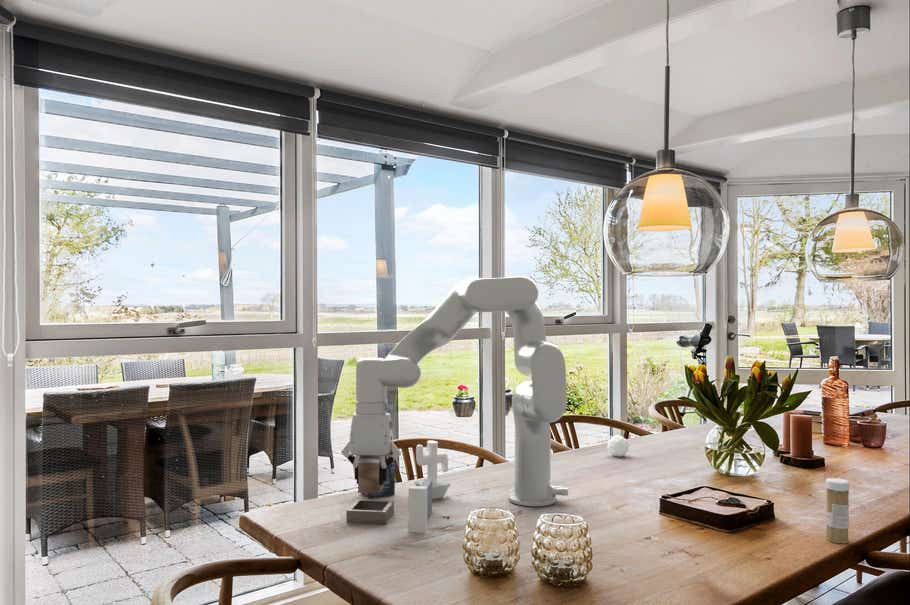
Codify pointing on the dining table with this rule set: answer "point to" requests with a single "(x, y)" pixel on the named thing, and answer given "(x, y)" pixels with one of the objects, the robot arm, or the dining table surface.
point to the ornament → (618, 446)
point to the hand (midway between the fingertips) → (370, 482)
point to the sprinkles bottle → (837, 510)
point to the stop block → (369, 474)
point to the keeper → (370, 512)
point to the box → (386, 483)
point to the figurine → (433, 467)
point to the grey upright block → (419, 506)
